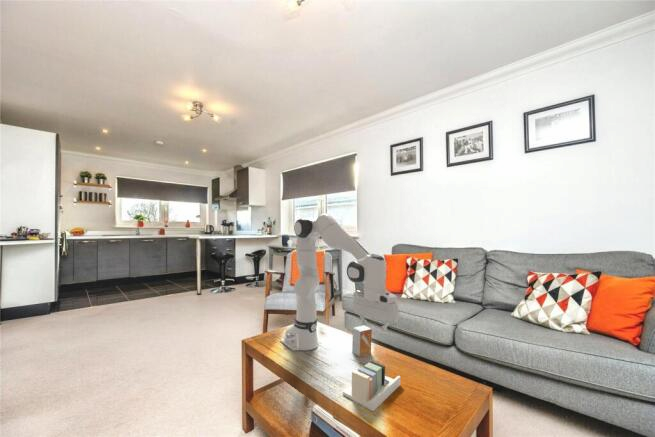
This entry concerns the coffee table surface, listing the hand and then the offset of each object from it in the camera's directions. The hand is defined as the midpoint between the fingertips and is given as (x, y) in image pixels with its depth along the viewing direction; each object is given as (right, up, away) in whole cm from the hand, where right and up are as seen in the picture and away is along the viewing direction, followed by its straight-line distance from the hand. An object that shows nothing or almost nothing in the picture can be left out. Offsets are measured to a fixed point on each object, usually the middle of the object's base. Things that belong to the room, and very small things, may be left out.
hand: (373, 327), depth 110 cm
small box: (-1, -26, +31) cm, 41 cm away
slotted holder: (-1, -25, -1) cm, 25 cm away
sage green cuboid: (-1, -24, -1) cm, 24 cm away
